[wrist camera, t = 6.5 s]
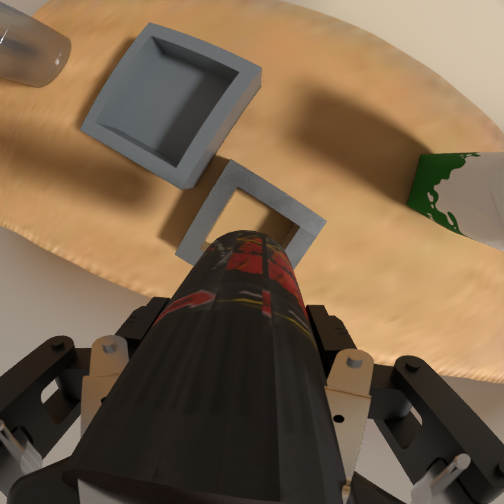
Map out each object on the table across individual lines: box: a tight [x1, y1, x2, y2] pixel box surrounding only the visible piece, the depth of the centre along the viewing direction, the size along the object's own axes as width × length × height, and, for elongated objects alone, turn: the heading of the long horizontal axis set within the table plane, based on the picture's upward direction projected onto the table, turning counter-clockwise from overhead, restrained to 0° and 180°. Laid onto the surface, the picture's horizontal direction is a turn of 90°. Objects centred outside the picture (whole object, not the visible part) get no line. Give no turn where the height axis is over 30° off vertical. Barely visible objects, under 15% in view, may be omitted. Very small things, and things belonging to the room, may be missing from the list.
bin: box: [80, 22, 262, 190], centre depth 25 cm, size 14×14×6 cm
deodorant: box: [61, 230, 358, 504], centre depth 10 cm, size 6×6×15 cm
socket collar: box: [175, 159, 327, 270], centre depth 30 cm, size 12×12×4 cm
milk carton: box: [407, 152, 504, 251], centre depth 20 cm, size 9×9×20 cm
